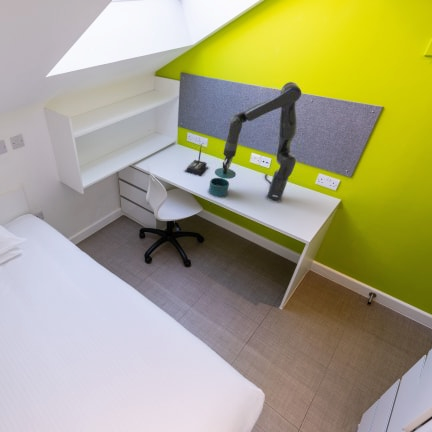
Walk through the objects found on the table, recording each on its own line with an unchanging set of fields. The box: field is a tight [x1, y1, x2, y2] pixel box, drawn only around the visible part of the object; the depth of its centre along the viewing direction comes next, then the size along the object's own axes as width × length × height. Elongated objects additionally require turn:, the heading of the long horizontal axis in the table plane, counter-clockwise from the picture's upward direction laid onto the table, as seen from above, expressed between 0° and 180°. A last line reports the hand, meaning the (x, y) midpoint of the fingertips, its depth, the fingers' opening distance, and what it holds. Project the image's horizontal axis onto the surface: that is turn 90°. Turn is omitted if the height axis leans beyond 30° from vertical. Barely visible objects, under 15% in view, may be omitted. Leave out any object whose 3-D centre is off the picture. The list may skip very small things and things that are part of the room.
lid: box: [214, 166, 237, 180], centre depth 195 cm, size 14×14×6 cm
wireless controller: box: [184, 143, 209, 177], centre depth 231 cm, size 20×14×17 cm
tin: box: [208, 177, 230, 198], centre depth 206 cm, size 13×13×8 cm
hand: (225, 172), depth 196 cm, fingers closed on lid, 2 cm apart
